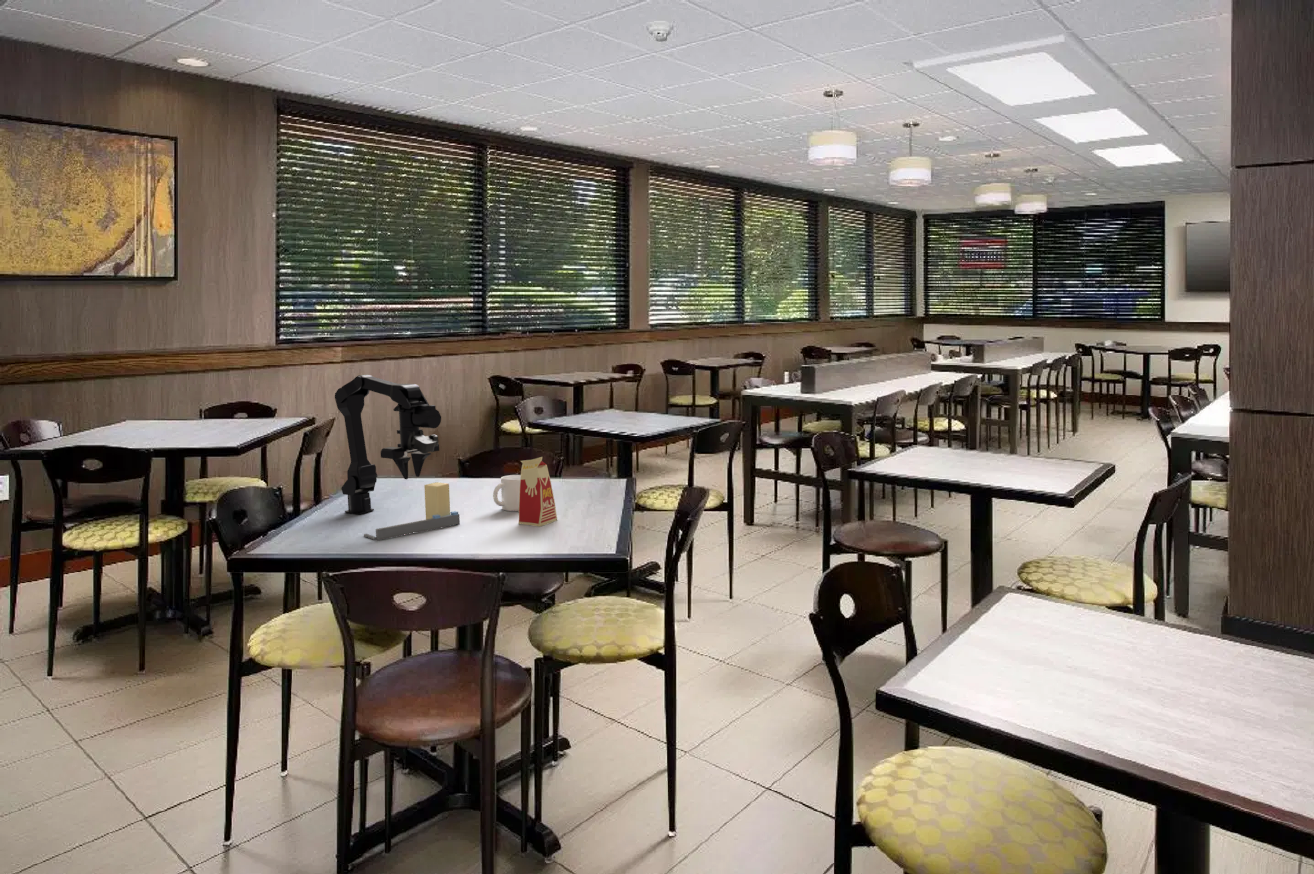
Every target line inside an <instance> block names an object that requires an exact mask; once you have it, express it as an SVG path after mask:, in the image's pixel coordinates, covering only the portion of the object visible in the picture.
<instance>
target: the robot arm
mask: <svg viewBox="0 0 1314 874" xmlns="http://www.w3.org/2000/svg"><path fill="white" fill-rule="evenodd" d="M420 387H421V386H419V385H418V384H416V383H396V382H392V381H389V380H385V379H383V378H379V377H375V376H373V375H371V374H359V375H357V376H355V377H354V378H353V379H352V380H350V381H349V382H348V383H345V384H344V385H342V386H341V387H339V388H338V389H337V390H336V391H335V393H334V400H335V404H336V407H337V409H338V411H339V412H340V413H341V415H342V416H343V418H344V424H345V425H344V426H345V431H346V437H347V443H348V444H347V445H348V450H349V458H350V464H349V466H348V468H347V471H346V474H347V475H346V476H347V479H346V481H345V482H344V483H343V485H342V486H341V488H340V489H341V493H342V495H345V496H347V508H348V509H347V510H344V513H345V514H353V515H363V514H365V513H369V512H373V511H375V508H372V502H371V500H372V499H371V497H370V494H371V493H370V492H374V491H375V486H376V483H377V477H379V476H378V474H377V466H376V464H372V463H371V462H370V461H369V459H368V453H367V447H366V440H365V435H364V434H365V433H364V427H363V420H362V419H363V418H362V413H363V409H364V408H365V407H364V406H365V398H366V397H367V396H368V395H369V394H370V391H371V392H374V393H377V394H380V395H384V396H387V397H389V398H390V400H391V401H392V402H394V403H396V404H397V405H396V406H395V407H394V408H393V412H398V419H399V421H398V423H399V425H398V426H399V429H398V430H396V434H397V435H398V434H399V439H400V441H399V443H397V445H396V446H389V447H382V449H381V450H380V458H381V459H390V460H392V461H393V462H394V463H395V465H396V466H397V468H398V470H399V472H400V474H401V475H402V477H403V479H404V480H408V479H409V461H410V460H411V461H412V465H413V466H412V467H413V470H414V474H415V475H414V476H415V477H417V478H419V477H420V475H421V473H422V469H423V466H424V463H425V460H426V459H427V458H428V457H429V456H431V455H432V453H433V452H439V451H440V444H439V436H438V435H436V434H430V435H424V431H423V428H424V429H437V428H438V427H439V426H440V425H441V423H442V422H441V421H442V416H441V413H440V411H439V410H438V409H436V405H435V404H430V403H429V402H428V400H427V398H426V396H425V395H424V393H423V392H422V390H421V388H420ZM421 428H422V429H421ZM408 454H410V456H409V455H408Z"/></svg>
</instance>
